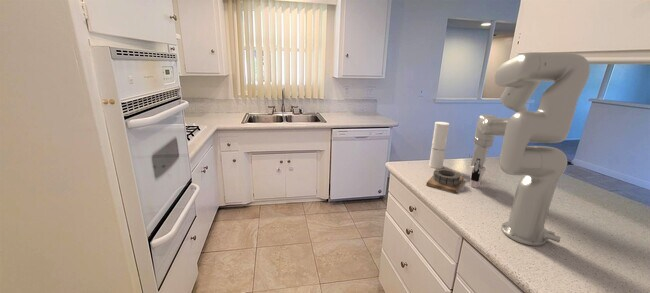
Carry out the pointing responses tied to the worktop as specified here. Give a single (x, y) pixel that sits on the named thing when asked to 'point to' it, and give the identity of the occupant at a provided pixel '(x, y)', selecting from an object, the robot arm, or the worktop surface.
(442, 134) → the cylindrical container
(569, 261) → the worktop surface
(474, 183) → the smoothie
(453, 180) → the block
